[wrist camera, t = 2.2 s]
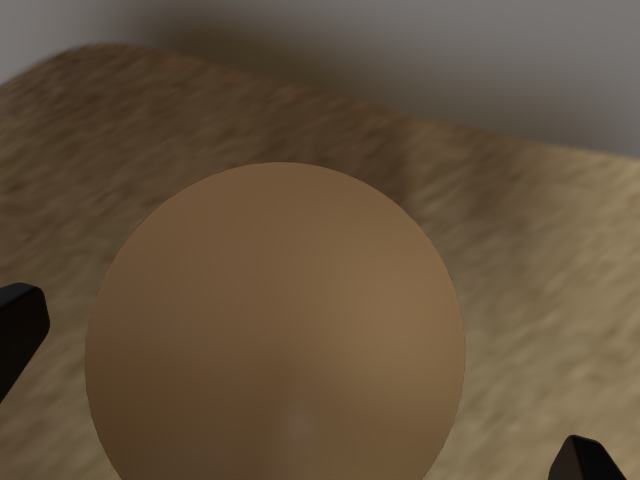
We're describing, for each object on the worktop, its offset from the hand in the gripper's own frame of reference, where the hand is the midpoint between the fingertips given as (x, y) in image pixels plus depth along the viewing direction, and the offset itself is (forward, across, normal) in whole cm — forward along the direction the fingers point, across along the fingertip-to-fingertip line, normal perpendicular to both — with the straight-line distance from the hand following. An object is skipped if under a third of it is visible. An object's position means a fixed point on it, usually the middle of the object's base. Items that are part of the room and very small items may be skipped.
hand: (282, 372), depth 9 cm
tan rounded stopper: (+6, 0, +6) cm, 8 cm away
